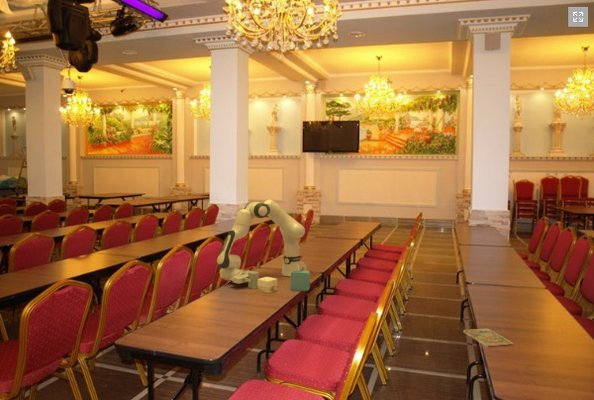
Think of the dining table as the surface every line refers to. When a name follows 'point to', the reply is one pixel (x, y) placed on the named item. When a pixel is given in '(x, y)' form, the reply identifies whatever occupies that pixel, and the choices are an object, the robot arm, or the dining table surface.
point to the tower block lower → (268, 289)
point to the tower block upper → (267, 282)
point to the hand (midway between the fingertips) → (254, 279)
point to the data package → (300, 280)
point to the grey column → (253, 279)
